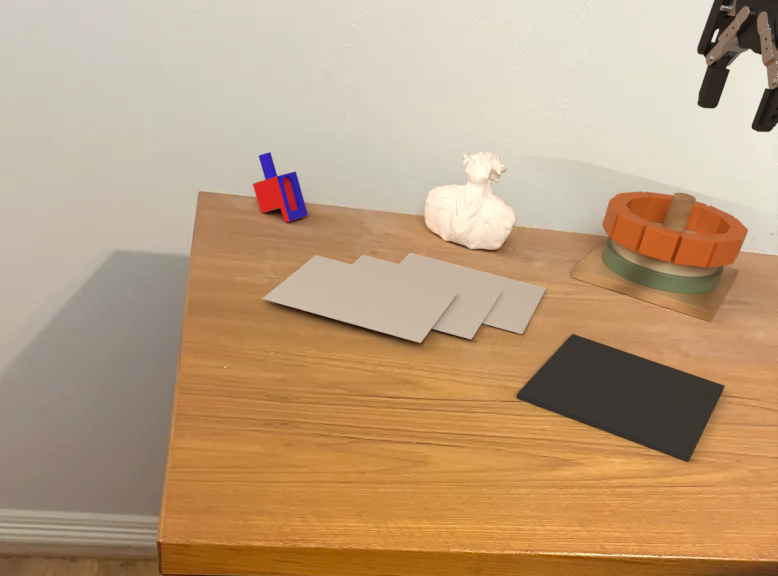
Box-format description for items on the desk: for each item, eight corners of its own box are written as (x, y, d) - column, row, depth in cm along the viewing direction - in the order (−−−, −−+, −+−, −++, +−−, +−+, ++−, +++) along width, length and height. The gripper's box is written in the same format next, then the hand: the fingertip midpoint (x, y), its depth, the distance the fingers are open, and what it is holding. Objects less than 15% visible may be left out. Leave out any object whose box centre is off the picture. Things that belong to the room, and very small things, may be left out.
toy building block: (284, 221, 109) (265, 155, 106) (308, 215, 107) (289, 146, 104) (265, 227, 107) (245, 159, 104) (289, 221, 104) (269, 151, 101)
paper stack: (345, 235, 104) (345, 230, 103) (546, 288, 99) (547, 282, 99) (261, 304, 86) (262, 298, 86) (502, 372, 81) (504, 365, 81)
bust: (506, 269, 108) (542, 185, 108) (497, 246, 101) (535, 155, 100) (421, 242, 112) (455, 160, 111) (406, 218, 105) (443, 130, 104)
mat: (722, 390, 85) (725, 385, 85) (688, 462, 73) (691, 456, 73) (570, 338, 90) (572, 333, 89) (516, 398, 78) (517, 392, 78)
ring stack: (736, 279, 110) (768, 199, 104) (710, 322, 98) (745, 235, 92) (609, 240, 115) (633, 163, 109) (570, 277, 103) (594, 192, 97)
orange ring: (746, 242, 107) (756, 217, 105) (723, 279, 96) (733, 252, 94) (623, 206, 112) (631, 182, 110) (587, 237, 100) (594, 212, 99)
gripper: (892, -59, 74) (809, 140, 84) (779, -80, 84) (716, 101, 94) (828, -69, 71) (750, 139, 81) (718, -89, 81) (661, 98, 91)
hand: (732, 118), depth 88 cm, fingers open, 8 cm apart
